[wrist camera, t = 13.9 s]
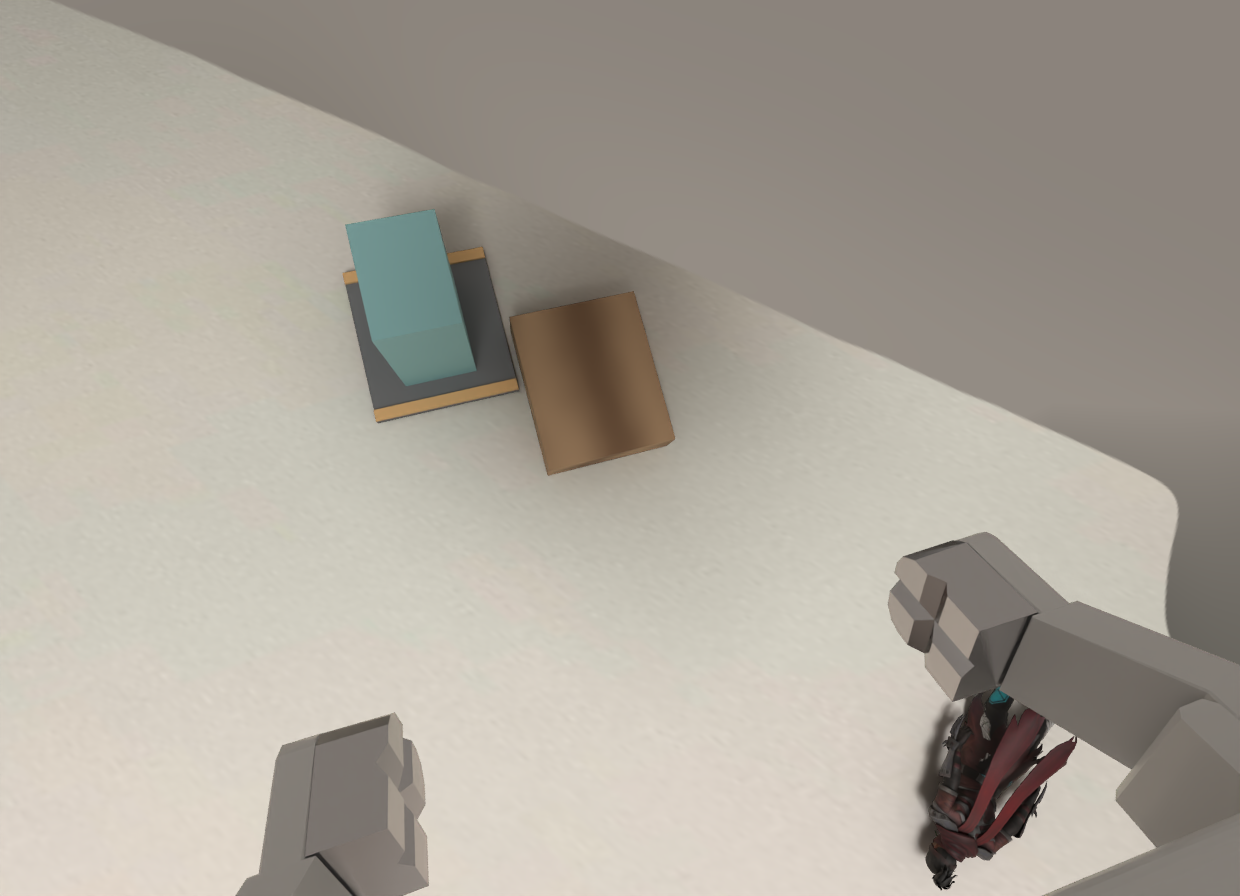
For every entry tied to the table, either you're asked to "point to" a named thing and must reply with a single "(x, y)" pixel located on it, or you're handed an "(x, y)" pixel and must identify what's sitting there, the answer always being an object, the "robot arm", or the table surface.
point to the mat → (483, 337)
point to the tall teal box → (411, 296)
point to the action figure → (988, 782)
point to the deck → (591, 382)
